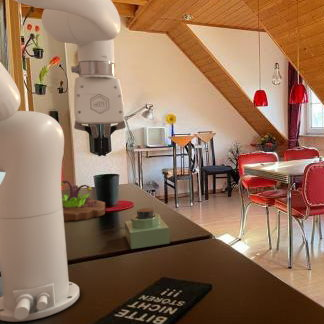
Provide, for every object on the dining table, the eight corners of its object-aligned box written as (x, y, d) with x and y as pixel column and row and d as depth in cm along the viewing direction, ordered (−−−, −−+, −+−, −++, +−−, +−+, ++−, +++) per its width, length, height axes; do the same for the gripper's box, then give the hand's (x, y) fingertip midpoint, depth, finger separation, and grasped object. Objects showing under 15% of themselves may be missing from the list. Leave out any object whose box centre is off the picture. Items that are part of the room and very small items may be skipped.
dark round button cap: (155, 218, 95) (155, 210, 95) (138, 220, 93) (138, 212, 93) (152, 215, 99) (152, 207, 98) (136, 217, 97) (135, 209, 97)
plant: (44, 210, 131) (41, 177, 130) (105, 204, 138) (103, 173, 136) (33, 225, 113) (29, 187, 111) (104, 218, 119) (102, 182, 118)
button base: (169, 243, 94) (168, 219, 93) (131, 249, 90) (129, 224, 89) (160, 231, 104) (159, 209, 103) (125, 236, 100) (124, 213, 99)
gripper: (58, 68, 79) (64, 158, 80) (134, 71, 84) (138, 155, 86) (60, 73, 85) (65, 156, 87) (130, 75, 91) (134, 153, 93)
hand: (102, 155), depth 87 cm, fingers closed
